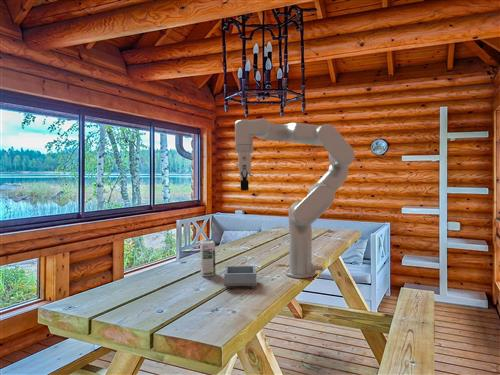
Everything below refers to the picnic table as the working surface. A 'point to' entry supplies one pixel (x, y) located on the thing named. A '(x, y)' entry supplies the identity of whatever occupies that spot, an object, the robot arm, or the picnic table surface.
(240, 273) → the grey square cubby
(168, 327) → the picnic table surface
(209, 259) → the syrup box
